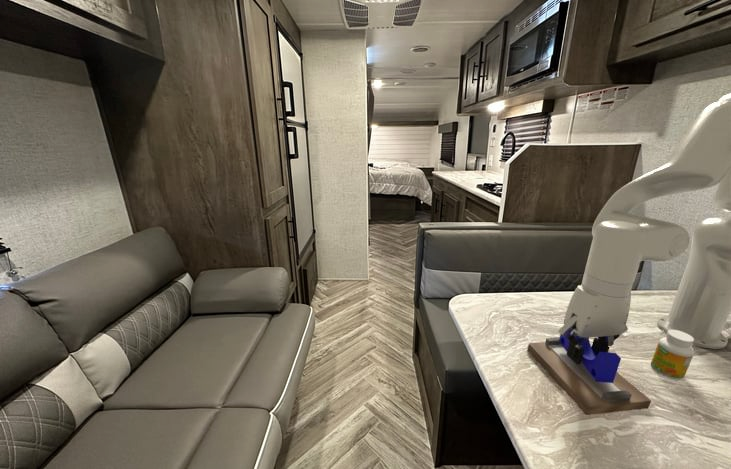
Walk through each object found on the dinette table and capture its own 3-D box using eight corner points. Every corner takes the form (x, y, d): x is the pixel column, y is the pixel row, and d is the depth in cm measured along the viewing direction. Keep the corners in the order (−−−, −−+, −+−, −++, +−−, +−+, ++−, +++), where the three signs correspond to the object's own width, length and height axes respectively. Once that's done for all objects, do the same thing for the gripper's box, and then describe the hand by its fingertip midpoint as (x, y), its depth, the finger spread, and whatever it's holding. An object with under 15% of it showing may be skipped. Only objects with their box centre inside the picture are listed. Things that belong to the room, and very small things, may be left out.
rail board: (575, 345, 73) (578, 334, 72) (648, 408, 56) (653, 394, 55) (527, 349, 72) (529, 338, 71) (586, 415, 55) (590, 401, 54)
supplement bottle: (644, 366, 67) (657, 330, 64) (658, 360, 69) (671, 325, 65) (674, 383, 62) (690, 346, 59) (689, 376, 64) (705, 339, 61)
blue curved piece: (558, 340, 69) (564, 319, 67) (579, 342, 68) (585, 320, 67) (587, 380, 58) (595, 356, 56) (612, 383, 57) (621, 358, 55)
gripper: (627, 273, 61) (606, 344, 67) (552, 277, 60) (537, 349, 66) (665, 290, 54) (637, 368, 60) (581, 296, 53) (561, 375, 59)
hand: (585, 357), depth 63 cm, fingers closed on blue curved piece, 4 cm apart
